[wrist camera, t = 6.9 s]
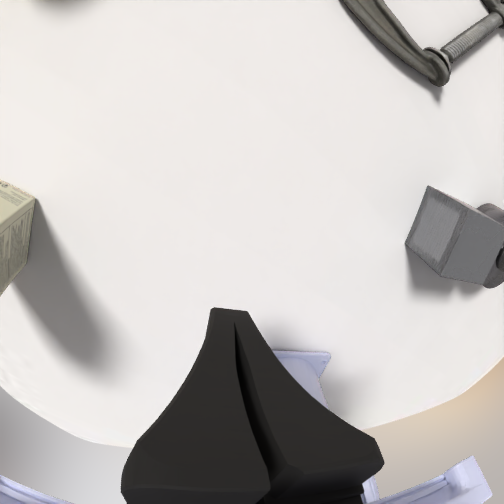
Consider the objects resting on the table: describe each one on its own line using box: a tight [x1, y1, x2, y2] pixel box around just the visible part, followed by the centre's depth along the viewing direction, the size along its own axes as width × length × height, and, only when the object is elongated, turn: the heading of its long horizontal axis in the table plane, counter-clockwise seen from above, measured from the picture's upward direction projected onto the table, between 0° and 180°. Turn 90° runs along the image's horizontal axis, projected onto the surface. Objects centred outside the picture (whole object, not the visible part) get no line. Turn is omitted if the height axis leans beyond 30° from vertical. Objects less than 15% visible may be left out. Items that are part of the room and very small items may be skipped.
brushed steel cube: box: [405, 186, 504, 285], centre depth 19 cm, size 6×5×5 cm
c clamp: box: [343, 0, 504, 87], centre depth 12 cm, size 20×17×3 cm
